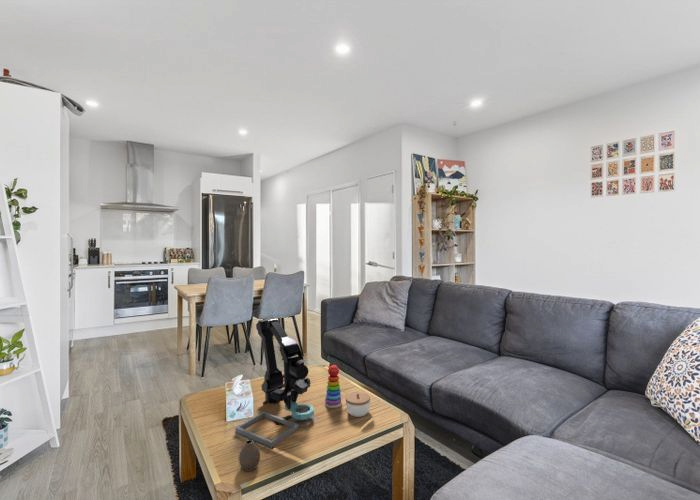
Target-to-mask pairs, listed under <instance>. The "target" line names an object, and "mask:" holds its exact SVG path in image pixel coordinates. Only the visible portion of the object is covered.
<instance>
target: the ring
mask: <svg viewBox="0 0 700 500" xmlns="http://www.w3.org/2000/svg"><path fill="white" fill-rule="evenodd" d="M301 406H306V407H308V411H307V412H305V413H299V412H298V411H297V409H298V408H299V407H301ZM284 410H285V411H288V412H290V413H291V418H292V417H293V418H295V419H298V420H302V419H309V418H310V417H312V416H313V415H314V416H315V410H314V406H313V405H311V404H309V403H303V404H302V403H301V404H298V402H296V403H294V402H291V408H290V410H288V408H287V406H286V405H285V404H284Z"/></svg>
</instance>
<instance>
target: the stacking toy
mask: <svg viewBox="0 0 700 500" xmlns="http://www.w3.org/2000/svg"><path fill="white" fill-rule="evenodd" d="M327 369H328V370H327V373H328V378H327V382H326V384H327V385H326V388H327V389H326V394H325V399H324V407H326V408H328V409H330V408H331V409H336V408H340V407H341V406H342V405H343V401H342V393H341V385H340V381H339V380H340V379H339V378H340V377H339V373H340V368H339V367H338V366H337V365H336V364H332V365H330V366H329V367H328V368H327Z"/></svg>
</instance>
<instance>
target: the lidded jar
mask: <svg viewBox="0 0 700 500" xmlns="http://www.w3.org/2000/svg"><path fill="white" fill-rule="evenodd" d="M345 405H346V410H347V412H348V413H349V414H350V415H351V416H352V417H355V418H361V417H364V416H366V415H367V414H368V412H369V410H370V406H371V396H370V395H369V394H368V393H365V392H361V391H356V392H351V393H348V394H347V395H346V396H345Z"/></svg>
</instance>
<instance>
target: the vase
mask: <svg viewBox="0 0 700 500" xmlns="http://www.w3.org/2000/svg"><path fill="white" fill-rule="evenodd" d="M260 460H261V452H260V448H259V447H258V445H257V443H256V442H253V440H249V439H247V440H246V441H245V442H244V445H243V446H242V447H241V449H240V451H239V454H238V463H239V464H238V465H239V467H240V468H241V469H242V470H244V471H246V472H251V471H253V470H255V469H256V468H257V467H258V465H259V463H260Z"/></svg>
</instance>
